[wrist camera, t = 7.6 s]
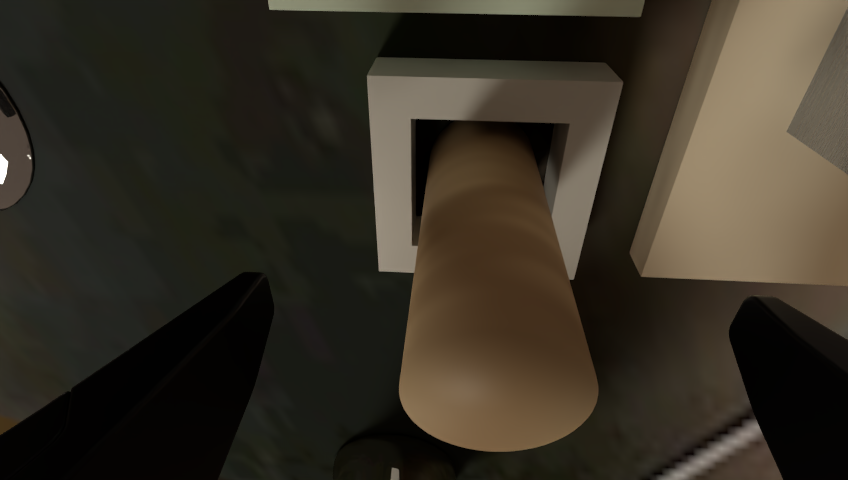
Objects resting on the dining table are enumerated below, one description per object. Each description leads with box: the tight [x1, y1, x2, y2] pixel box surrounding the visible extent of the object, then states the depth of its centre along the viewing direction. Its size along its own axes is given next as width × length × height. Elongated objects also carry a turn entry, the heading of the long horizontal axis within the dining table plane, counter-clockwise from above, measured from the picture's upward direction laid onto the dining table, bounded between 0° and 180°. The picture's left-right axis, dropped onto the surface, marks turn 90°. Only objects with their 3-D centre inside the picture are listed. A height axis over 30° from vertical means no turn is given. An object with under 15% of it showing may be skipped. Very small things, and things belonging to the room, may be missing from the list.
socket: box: [367, 57, 623, 280], centre depth 13 cm, size 6×6×2 cm
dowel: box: [399, 120, 598, 452], centre depth 10 cm, size 3×3×8 cm
